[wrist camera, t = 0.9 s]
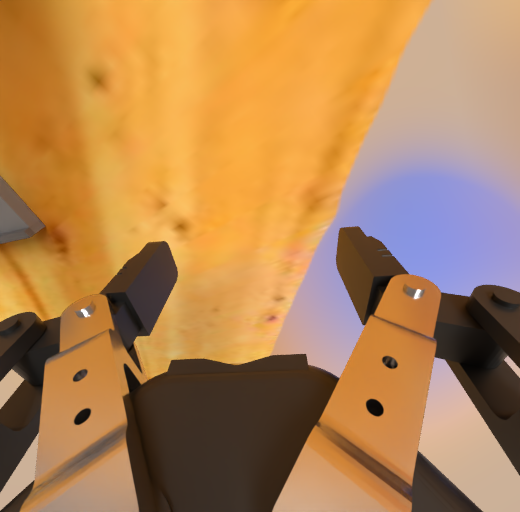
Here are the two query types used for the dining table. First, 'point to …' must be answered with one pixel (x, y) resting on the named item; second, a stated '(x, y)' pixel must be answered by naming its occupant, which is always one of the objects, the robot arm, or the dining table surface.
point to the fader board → (15, 216)
